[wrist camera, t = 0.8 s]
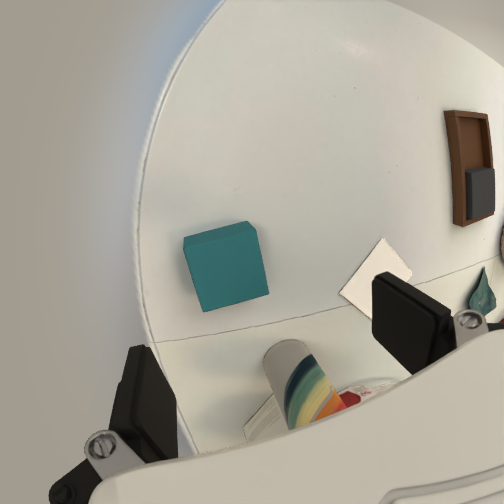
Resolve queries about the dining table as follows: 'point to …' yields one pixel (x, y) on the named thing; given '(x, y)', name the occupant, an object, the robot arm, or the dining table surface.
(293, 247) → the dining table surface
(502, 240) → the sea urchin shell
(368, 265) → the coaster
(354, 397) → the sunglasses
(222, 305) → the teal block
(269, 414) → the cosmetic box
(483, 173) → the charcoal pad
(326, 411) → the grey striped bottle
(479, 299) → the terrain model
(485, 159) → the frame
